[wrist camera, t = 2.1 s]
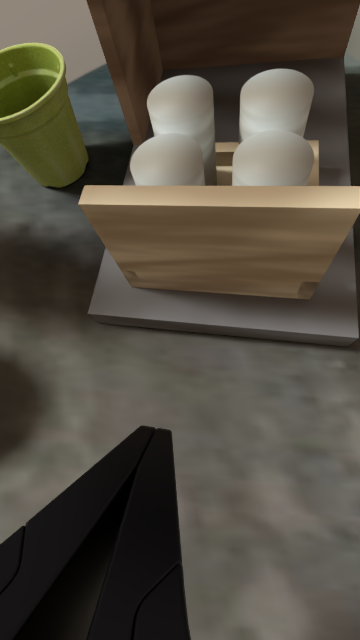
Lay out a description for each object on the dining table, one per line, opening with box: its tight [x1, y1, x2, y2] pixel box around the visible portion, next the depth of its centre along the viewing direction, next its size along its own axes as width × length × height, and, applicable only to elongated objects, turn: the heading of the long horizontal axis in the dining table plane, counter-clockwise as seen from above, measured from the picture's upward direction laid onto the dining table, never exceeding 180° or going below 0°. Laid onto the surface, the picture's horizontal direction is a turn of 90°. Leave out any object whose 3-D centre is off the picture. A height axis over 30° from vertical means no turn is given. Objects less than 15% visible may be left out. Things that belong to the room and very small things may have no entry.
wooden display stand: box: [87, 0, 360, 347], centre depth 20 cm, size 30×19×17 cm, turn 171°
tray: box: [79, 69, 360, 299], centre depth 20 cm, size 12×13×9 cm
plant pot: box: [0, 43, 88, 188], centre depth 28 cm, size 9×9×9 cm
